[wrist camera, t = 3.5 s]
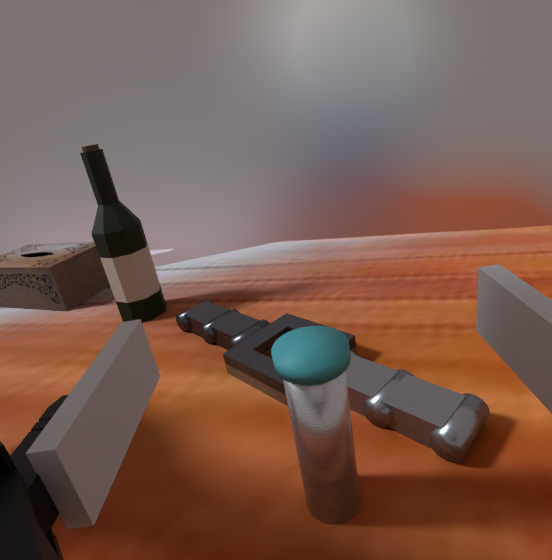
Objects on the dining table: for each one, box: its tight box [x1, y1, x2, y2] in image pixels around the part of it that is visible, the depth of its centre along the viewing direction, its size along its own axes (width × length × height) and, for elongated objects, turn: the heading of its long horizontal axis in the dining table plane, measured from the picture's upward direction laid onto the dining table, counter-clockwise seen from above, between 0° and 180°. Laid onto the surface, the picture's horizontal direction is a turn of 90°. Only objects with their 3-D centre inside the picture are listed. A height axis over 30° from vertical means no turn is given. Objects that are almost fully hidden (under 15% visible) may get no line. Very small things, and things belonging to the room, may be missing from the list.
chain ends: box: [176, 300, 490, 462], centre depth 51 cm, size 12×46×3 cm, turn 45°
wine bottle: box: [80, 144, 166, 322], centre depth 69 cm, size 8×8×30 cm
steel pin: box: [271, 326, 360, 524], centre depth 31 cm, size 5×5×15 cm
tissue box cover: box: [0, 242, 110, 311], centre depth 91 cm, size 26×14×10 cm, turn 68°
